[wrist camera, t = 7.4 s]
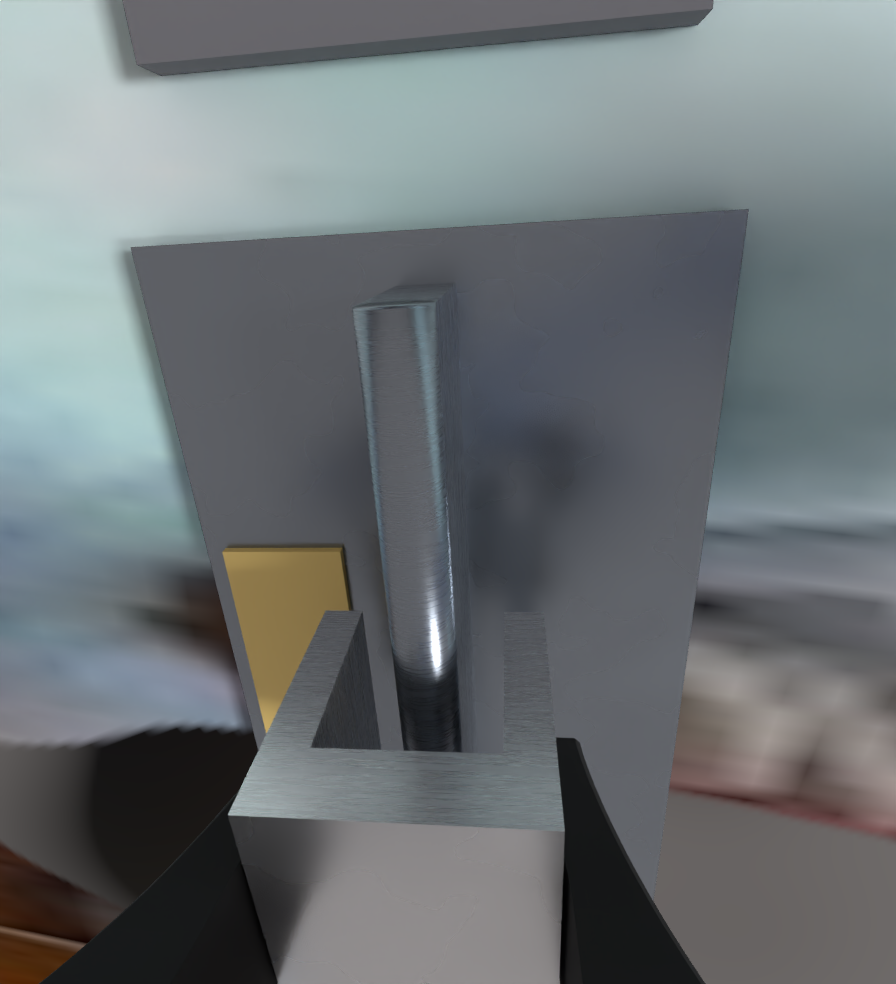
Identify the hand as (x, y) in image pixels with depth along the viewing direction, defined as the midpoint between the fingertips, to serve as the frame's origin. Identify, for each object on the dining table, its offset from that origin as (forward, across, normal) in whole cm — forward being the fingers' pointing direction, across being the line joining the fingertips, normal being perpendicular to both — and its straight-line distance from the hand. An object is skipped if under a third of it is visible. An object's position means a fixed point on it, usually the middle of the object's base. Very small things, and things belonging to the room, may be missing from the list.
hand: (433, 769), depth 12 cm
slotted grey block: (+2, 0, 0) cm, 2 cm away
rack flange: (+5, 0, 0) cm, 5 cm away
